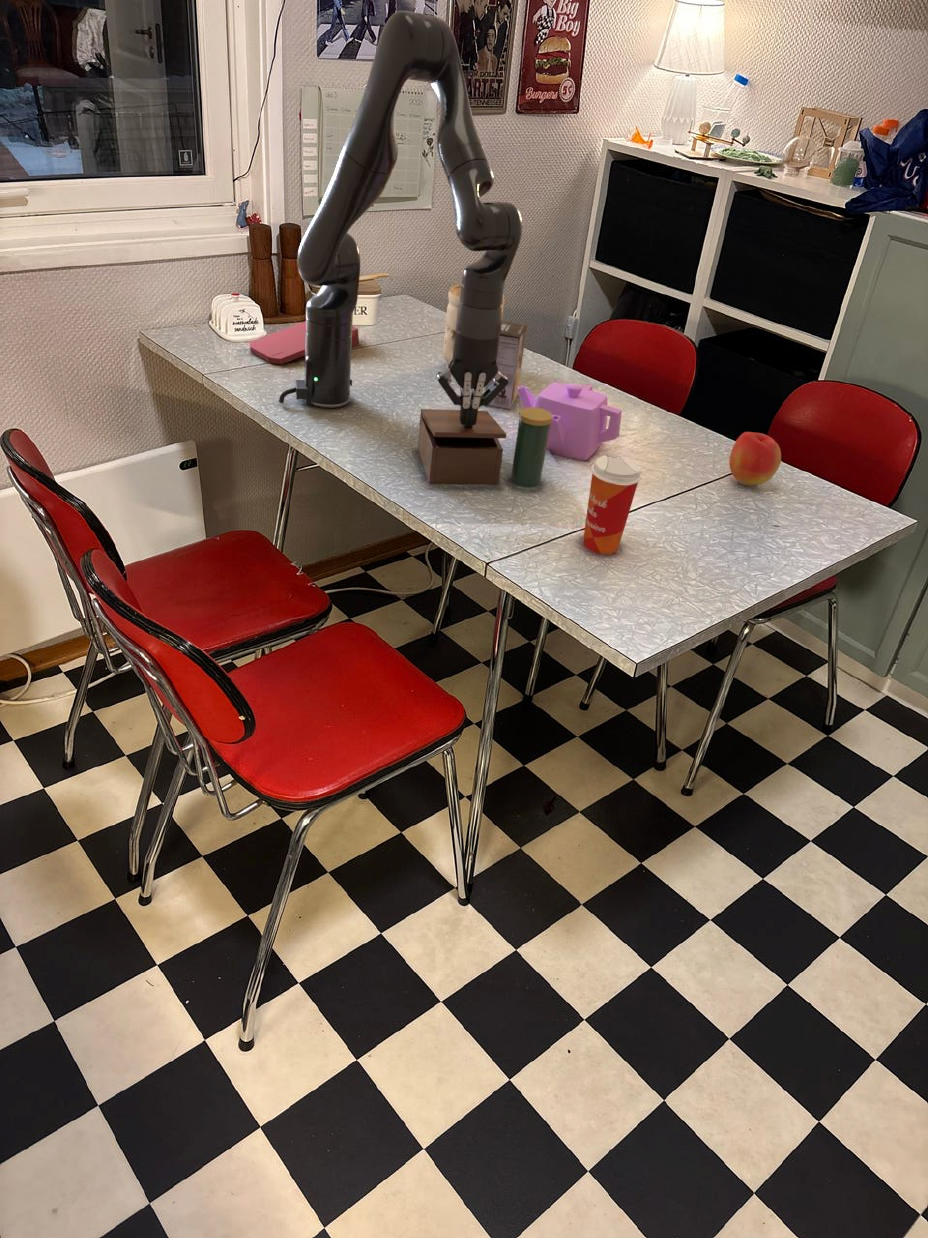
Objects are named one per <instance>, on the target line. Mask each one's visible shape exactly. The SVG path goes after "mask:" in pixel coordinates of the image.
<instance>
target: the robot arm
mask: <svg viewBox="0 0 928 1238" xmlns="http://www.w3.org/2000/svg"><path fill="white" fill-rule="evenodd" d="M408 80H409V81H415V82H422V83H428V84H429V86H430V87H431V89H432V91H433V94H434V95H435V97H436V99H437V102H438V105H439V121H438V126H437V132H436V133H437V134H436V147H437V154H438V158H439V161H440V165H441V167H442V170H443V172H444V174H445V177H446V179H447V182H448V185H449V187H450V191H451V200H452V207H453V219H454V227H455V228H454V229H455V233H456V236H457V238H458V240H459V242H460V243H461V244H462V246H463V247H464V248H465V249H467V250H469V251H471V252H484V253H483V255H482V256H481V258H480V259H478V260H477V261H474V262H472V263H470V264H468V265H466V267H464V269H463V272H462V277H461V284H460V285H461V294H460V303H459V308H458V312H457V319H456V329H455V339H454V349H453V358H452V360H451V362H450V364H448V368H446V369H445V370H444V371H442V372H441V371H439V372H437V373H436V374H435V377H436V379H437V381H438V383H439V385H440V386H441V388H442V390H443V391H444V392H445V394H446V395H447V397H448V398H449V399H450V401H451V402H452V403H453V405H454V406H459V407H460V409H459V410H460V417H459V419H460V422H461V425H463V427H464V428H472V427H473V425H475V424H476V421H477V413H478V411H479V409H480V408H481V407H483V406H485V407H487V406H490V405H489V404H490V403H491V402H492V400H493V399H494V398H495V397H496V396H497V395H498V394H499V393H500V392H501V391H502V390H503V389H504V388H505V387H506V386H507V385H508V380H507V378H506V376H505V375H504V374H501V373H500V372H499V371H498V366H497V362H496V361H497V354H498V346H499V338H500V332H501V322H502V321H503V316H502V302H503V294H504V295H505V284H506V279H507V277H508V275H509V272H510V269H511V268H512V264H513V262H514V259H515V256H516V254H517V251H518V249H519V246H520V243H521V240H522V235H523V219H522V216H521V212H520V211H519V209H518V208H517V206H515V204H513V203H511V202H508V201H491V202H490V201H489V202H482V200H481V197H484V196H485V195H486V194H487V193H489V192H490V190H491V189H492V187H493V185H494V182H495V178H494V174H493V170H492V166H491V163H490V161H489V159H488V156H487V154H486V151H485V149H484V146H483V144H482V141H481V139H480V136H479V133H478V131H477V128H476V124H475V121H474V117H473V113H472V109H471V104H470V99H469V95H468V88H467V84H466V79H465V76H464V71H463V66H462V62H461V57H460V53H459V48H458V44H457V41H456V37H455V35H454V32H453V30H452V28H451V26H450V24H448V22H447V21H446V20H445V19H442V18H440V17H437V16H433V15H430V14H425V13H419V12H415V11H410V10H397V11H396V12H394V13H392V15H391V16H390V17H389V18H388V20H387V21H386V23H385V25H384V27H383V28H382V31H381V34H380V36H379V39H378V43H377V47H376V50H375V52H374V57H373V61H372V64H371V68H370V70H369V75H368V78H367V81H366V85H365V89H364V91H363V94H362V98H361V100H360V102H359V106H358V108H357V111H356V114H355V117H354V119H353V122H352V126H351V128H350V130H349V132H348V135H347V137H346V139H345V141H344V144H343V146H342V149H341V151H340V154H339V156H338V159H337V163H336V166H335V168H334V169H335V170H334V171H333V174H332V176H331V179H330V181H329V184H328V186H327V188H326V190H325V193H324V195H323V198H322V200H321V203H320V204H319V207H318V209H317V211H316V213H315V215H314V216H313V218H312V220H311V222H310V224H309V225H308V228H307V229H306V232H305V234H304V235H303V237H302V239H301V242H300V244H299V247H298V251H297V259H296V263H297V268H298V274H299V275H300V277H301V279H302V280H303V282H305V283H306V284H307V285H309V286H312V287H320V289H319V290H318V292H317V293H316V294H314V295H313V296H312V297H311V298H310V299H309V300H308V301H307V302H306V305H305V321H306V350H305V355H304V377H303V378H304V379H295V387H291V388H289V389H285V390H284V391H283V392H282V393H280V395H279V399H278V403H280V404H284V403H285V398H286V397H287V396H289V395H291V394H295V398H296V400H304V402H305V405H310V406H314V407H317V408H324V409H337V408H342V407H345V406H347V405H349V404H350V401H351V396H350V395H351V387H353V380H352V379H351V374H352V373H351V372H352V371H351V369H352V348H353V347H352V326H353V324H354V323H353V319H354V312H355V310H356V307H357V304H358V297H359V286H360V278H361V277H360V276H361V255H360V250H359V247H358V244H357V241H356V240H355V238H354V237H353V236H352V235H351V234H349V230H351V228H352V227H353V225H355V224H356V222H357V221H358V220H359V219H360V218H361V217H362V216H363V215H364V214H366V212H367V211H369V209H370V208H371V207H372V206H373V205H374V204H375V203H376V201H378V199H380V197H381V196H382V194H383V192H385V191H384V190H385V189H386V187H387V184H388V182H389V180H390V178H391V175H392V174H393V171H394V169H395V166H396V163H397V160H398V154H399V146H398V135H397V130H396V124H395V111H396V105H397V102H398V99H399V96H400V95H401V92H402V89H403V87H404V85H405V83H406V82H407V81H408ZM452 377H453V379H454V380H455V382H456V384H457V385H458V386H459V390H460V394H457V392H456V391H455V389H454V388H453V386H452V385H451V383H452V381H453V380H452ZM492 379H493V383H492V384H491V385H490V386H489V387H488V388H487V389H486V390H485V387H486V386H487V384H488V383H489V382H490V381H491V380H492Z"/></svg>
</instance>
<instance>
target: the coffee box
mask: <svg viewBox="0 0 928 1238" xmlns="http://www.w3.org/2000/svg"><path fill="white" fill-rule="evenodd" d="M527 329H528V324H527V323H521V322H513V321H507V320H502V322H501V332H500V338H499V346H498V354H497V361H496V362H497V366H498V371H499V372H500V373H501V374H504V375H505V376H506V378H507V380H508V385H507V386H506V387H505V388H504V389H503V390H502V391H501V392H500V393H499V394H498V395H497V396H496V397H495V398H494V399H493V400H492V402H491V403H490V404H489V405H488V406H491V407H496V408H502V409H507V410H511V409H512V407H513V405H514V402H515V400H516V399H517V396H518V391H517V388H518V387H520V386H519V385H520V379H521V371H522V364H523V357H524V350H525V343H526V337H527ZM492 383H493V379H492V380H491V381H490V382H489V383H488V384H487V386H486V387H484V391H485V390H486V389H487V388H488V387H489V386H490V385H491V384H492Z"/></svg>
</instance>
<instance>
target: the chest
mask: <svg viewBox="0 0 928 1238" xmlns="http://www.w3.org/2000/svg"><path fill="white" fill-rule="evenodd" d="M417 451H418V454H419V457H420V461H421V463H422V466H423V468H424V473H425V476H426V479H427V481H428V484H429V485H474V486H475V485H477V486H478V485H479V486H480V485H482V486H483V485H484V486H485V485H488V486H491V485H492V486H498V485H499V481H500V475H501V467H502V462H503V461H502V459H503V454H504V453H503V452H504V448H503V446H502V444H501V442H500V440H499V438H464V437H434V435H433V433H432V432H431V430H430V428H429V427H428V425H427V423H426V422H425V420H424V418H423V417H422V415H421V413H420V416H419V427H418V439H417Z"/></svg>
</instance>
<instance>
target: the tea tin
mask: <svg viewBox="0 0 928 1238" xmlns="http://www.w3.org/2000/svg"><path fill="white" fill-rule="evenodd" d="M552 417H553V416H552V414H551V413H550V412H549V411H547V410H545V409H541V408H536V407H527V408H523V407H522V408H521V409H520V410H519V414H518V418H519V419H518V426H517V433H516V439H515V446H514V453H513V458H512V459H513V460H512V466H511V473H510V482H511V483H513V484H514V485H515V486H519V487H521V488H536V487H538V486H540V485H541V483H542V482H541V481H542V477H543V471H544V470H543V469H544V464H545V458H546V452H547V448H546V447H547V441H548V435H549V429H550V424H551V422H552Z"/></svg>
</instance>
